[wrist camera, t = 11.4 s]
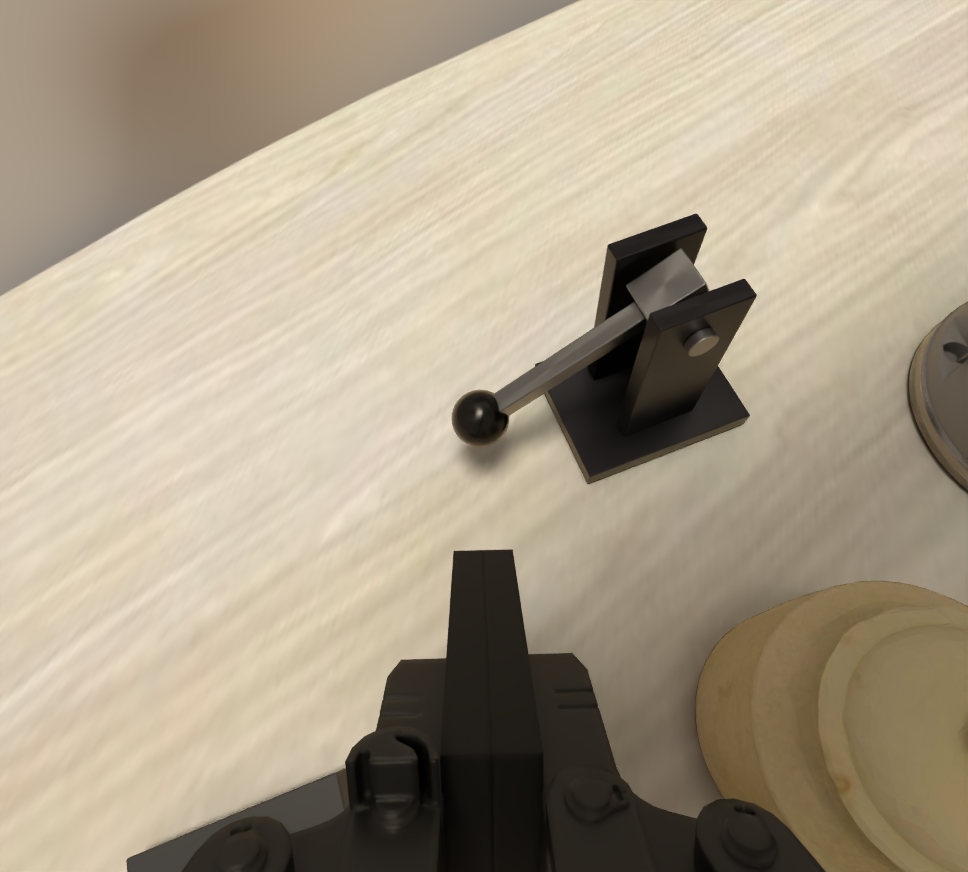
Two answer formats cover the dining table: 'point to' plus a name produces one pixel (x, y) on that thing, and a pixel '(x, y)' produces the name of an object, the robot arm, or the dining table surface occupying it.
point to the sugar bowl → (848, 724)
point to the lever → (578, 351)
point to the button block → (294, 809)
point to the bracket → (653, 364)
